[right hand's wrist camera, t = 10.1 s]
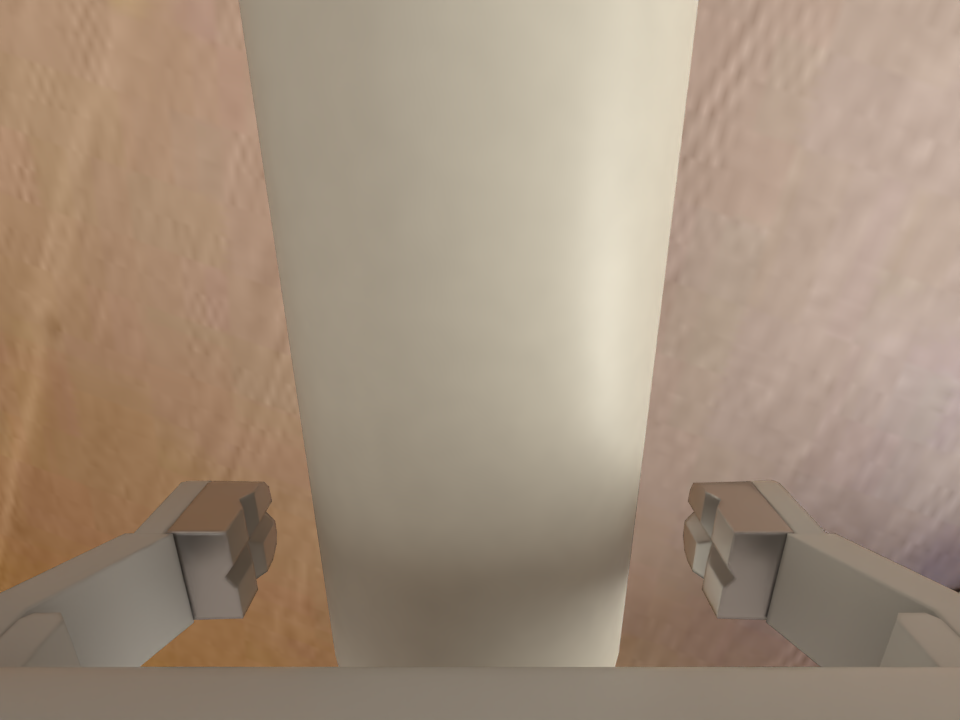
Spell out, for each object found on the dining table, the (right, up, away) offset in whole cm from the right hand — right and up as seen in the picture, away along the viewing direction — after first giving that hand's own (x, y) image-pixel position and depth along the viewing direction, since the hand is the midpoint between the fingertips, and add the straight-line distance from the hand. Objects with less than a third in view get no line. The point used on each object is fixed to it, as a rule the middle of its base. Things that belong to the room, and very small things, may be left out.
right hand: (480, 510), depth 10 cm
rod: (0, +11, -1) cm, 12 cm away
